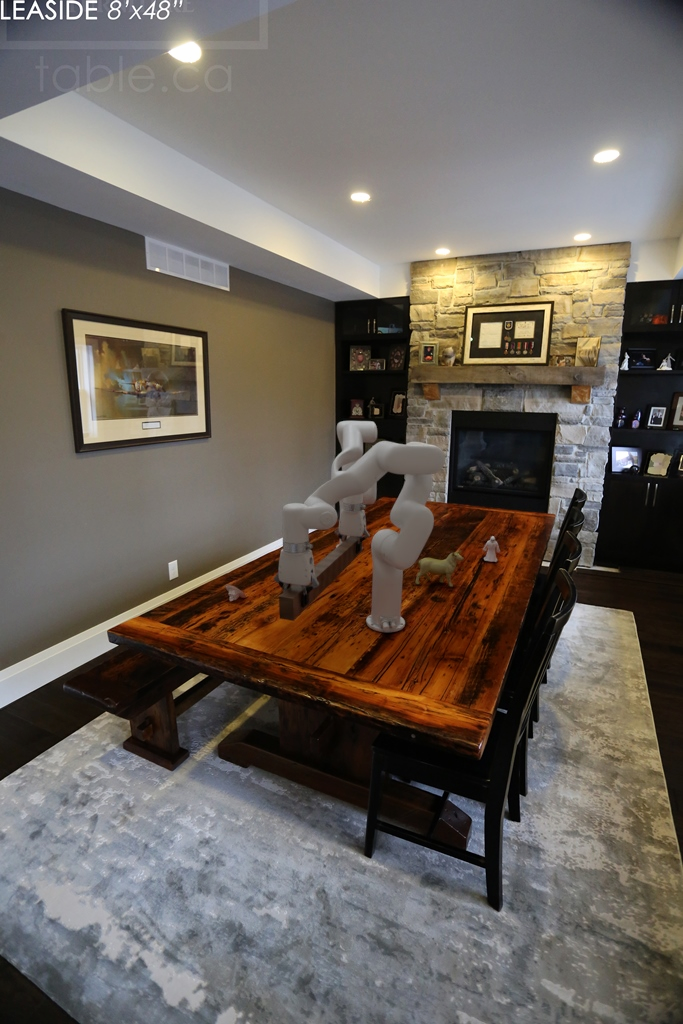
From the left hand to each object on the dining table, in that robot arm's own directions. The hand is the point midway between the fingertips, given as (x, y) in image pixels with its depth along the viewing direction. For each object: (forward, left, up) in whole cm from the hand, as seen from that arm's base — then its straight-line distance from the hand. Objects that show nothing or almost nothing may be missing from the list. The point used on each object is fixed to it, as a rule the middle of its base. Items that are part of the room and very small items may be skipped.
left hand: (351, 551), depth 197 cm
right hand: (+51, +11, 0) cm, 52 cm away
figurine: (-55, +41, -12) cm, 69 cm away
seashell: (+40, -24, -12) cm, 48 cm away
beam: (+26, +6, -2) cm, 26 cm away
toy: (-14, +31, -12) cm, 36 cm away
